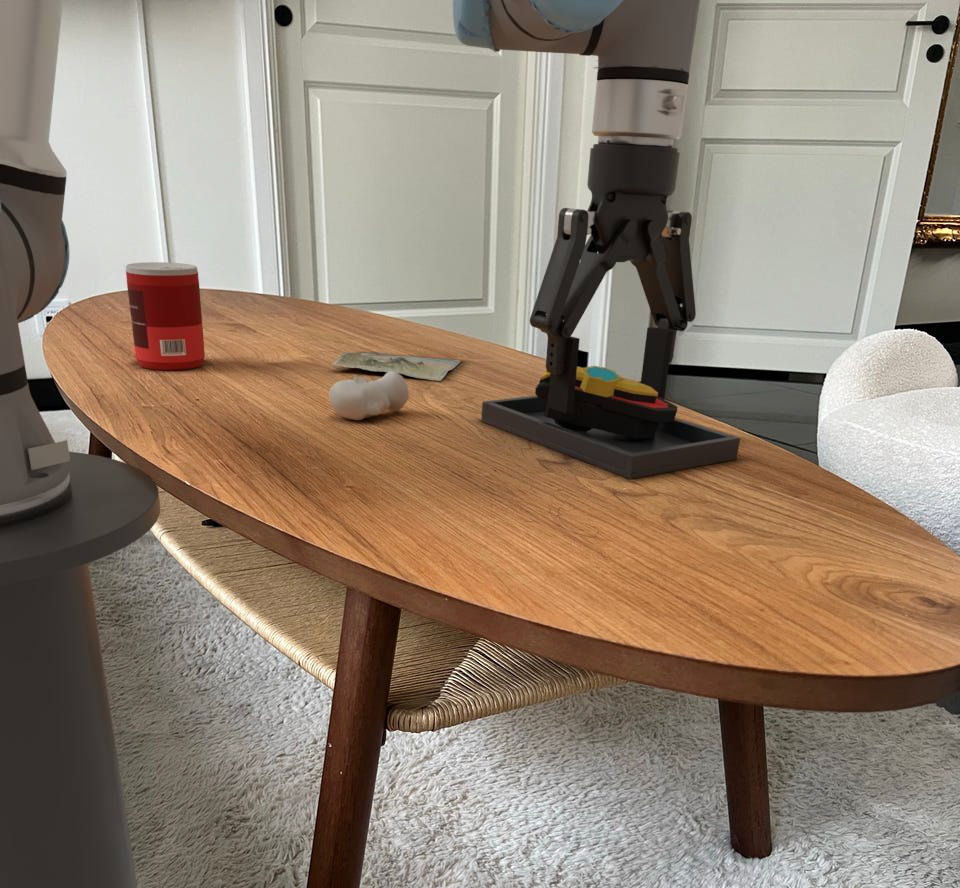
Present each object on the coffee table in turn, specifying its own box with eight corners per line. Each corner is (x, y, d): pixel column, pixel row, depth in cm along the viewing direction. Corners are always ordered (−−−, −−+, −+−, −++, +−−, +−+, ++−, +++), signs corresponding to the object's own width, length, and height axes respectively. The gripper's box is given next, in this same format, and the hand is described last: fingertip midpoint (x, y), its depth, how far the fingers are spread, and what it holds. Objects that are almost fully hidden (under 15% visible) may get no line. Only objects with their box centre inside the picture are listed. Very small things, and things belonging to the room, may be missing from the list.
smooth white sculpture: (341, 435, 91) (321, 408, 94) (414, 427, 95) (393, 401, 98) (345, 396, 88) (324, 369, 91) (420, 389, 92) (399, 363, 95)
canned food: (218, 363, 113) (211, 266, 108) (174, 373, 107) (164, 271, 102) (168, 355, 116) (159, 260, 111) (122, 365, 110) (110, 264, 105)
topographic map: (440, 381, 110) (441, 367, 110) (329, 368, 112) (330, 354, 111) (461, 365, 122) (462, 352, 122) (362, 353, 124) (362, 340, 123)
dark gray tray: (481, 421, 94) (481, 401, 93) (582, 408, 101) (584, 389, 101) (630, 479, 79) (633, 456, 78) (736, 459, 86) (740, 437, 85)
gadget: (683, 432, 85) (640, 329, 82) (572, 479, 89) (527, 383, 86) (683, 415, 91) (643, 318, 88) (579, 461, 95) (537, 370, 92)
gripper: (557, 134, 70) (535, 426, 80) (761, 150, 82) (720, 400, 92) (497, 133, 75) (484, 407, 85) (697, 149, 88) (665, 385, 98)
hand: (607, 404), depth 89 cm, fingers closed on gadget, 11 cm apart
